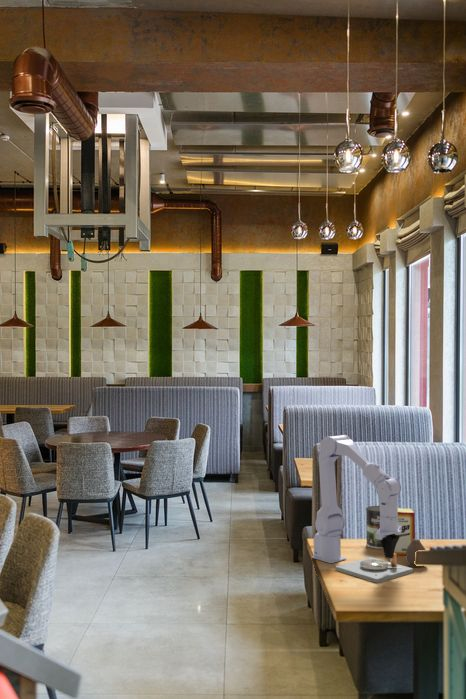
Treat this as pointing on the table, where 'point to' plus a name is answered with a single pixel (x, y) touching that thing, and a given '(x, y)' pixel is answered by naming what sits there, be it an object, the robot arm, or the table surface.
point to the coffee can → (373, 526)
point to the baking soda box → (405, 530)
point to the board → (371, 575)
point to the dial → (378, 564)
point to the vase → (413, 551)
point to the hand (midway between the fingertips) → (389, 557)
